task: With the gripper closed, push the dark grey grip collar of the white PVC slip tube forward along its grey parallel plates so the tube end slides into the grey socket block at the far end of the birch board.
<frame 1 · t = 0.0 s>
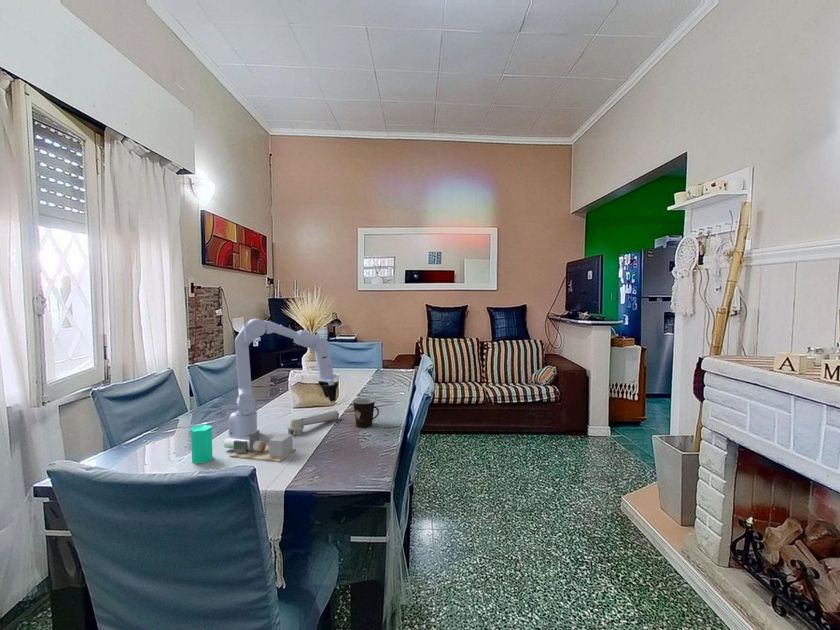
hand: (330, 398, 166), 11 cm above the table, tool pointing down, fingers open, 7 cm apart
grey capped rod: (314, 428, 163), on the table
socket: (281, 455, 134), resting on board
grey parallel plates: (245, 451, 137), resting on board
candle: (202, 460, 131), on the table
coffee mug: (365, 427, 163), on the table
slip tube: (244, 440, 137), point 4 cm above the table, slide at 0.0 cm
board: (263, 453, 136), on the table
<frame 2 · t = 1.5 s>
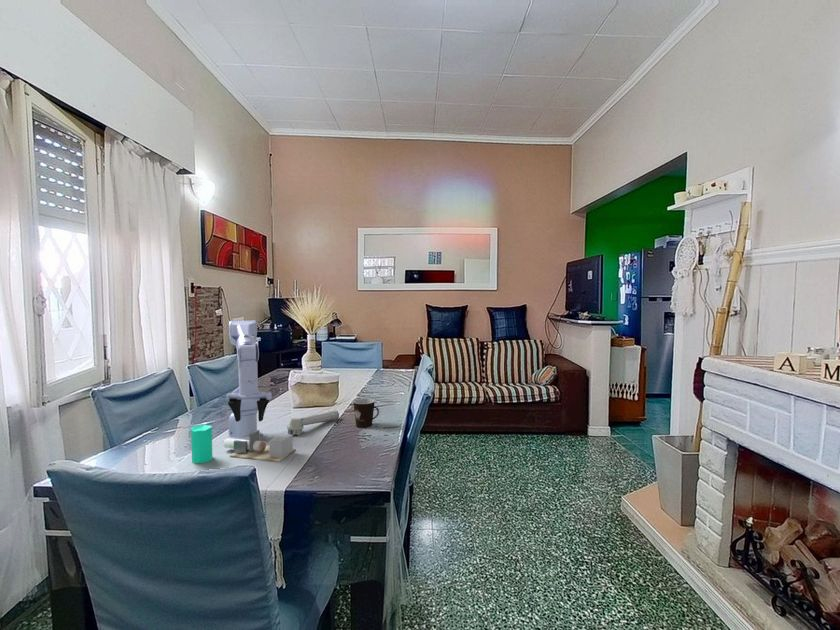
hand: (249, 420, 136), 11 cm above the table, tool pointing down, fingers open, 7 cm apart
nothing on the table moved.
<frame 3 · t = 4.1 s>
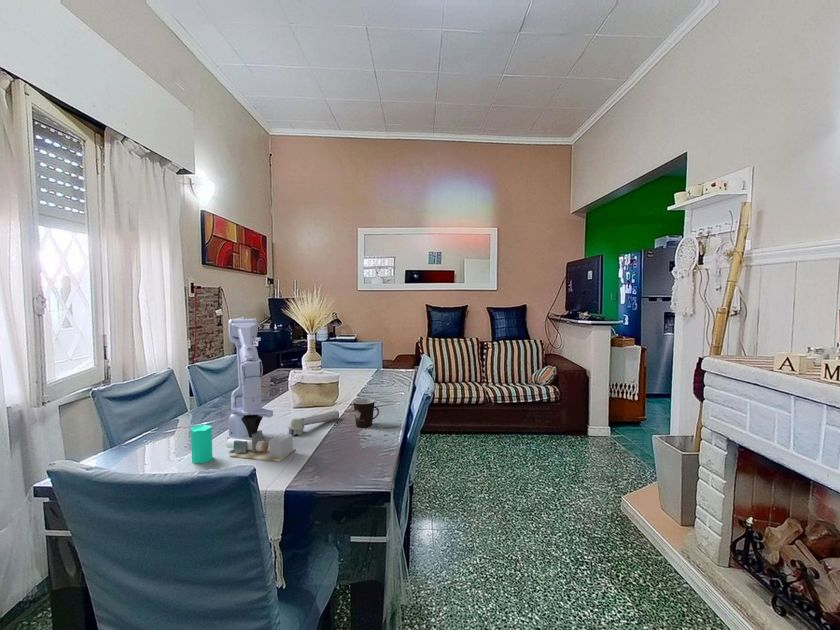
hand: (252, 436, 136), 5 cm above the table, tool pointing down, fingers closed
slip tube: (247, 440, 137), point 4 cm above the table, slide at 1.0 cm, touching gripper
everything else where it was.
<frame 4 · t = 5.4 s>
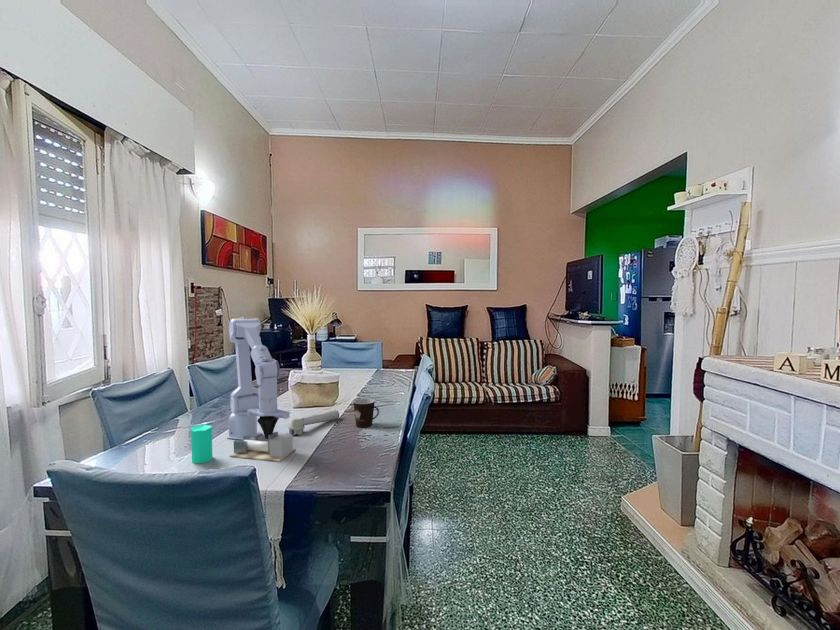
hand: (268, 438, 135), 5 cm above the table, tool pointing down, fingers closed
slip tube: (263, 442, 135), point 4 cm above the table, slide at 7.0 cm, touching gripper
everything else where it was.
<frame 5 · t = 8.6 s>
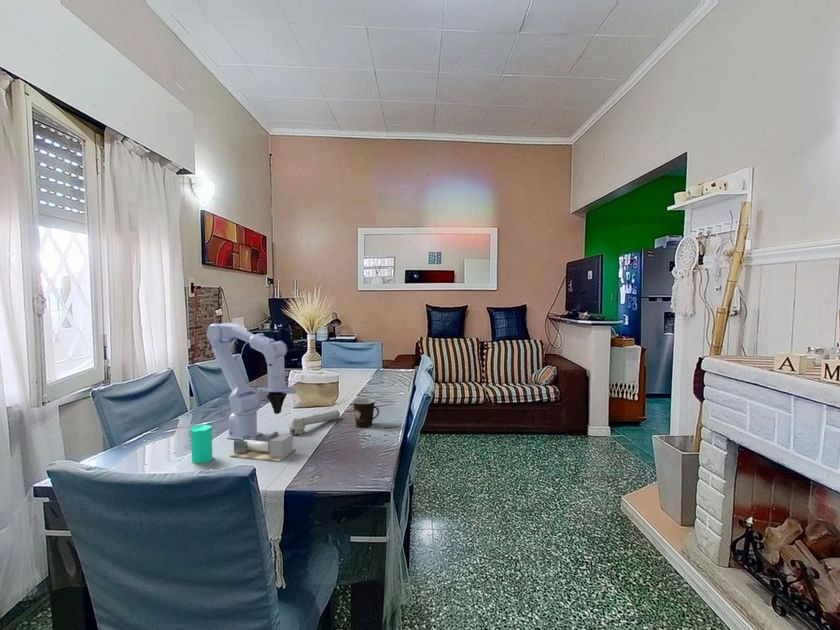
hand: (277, 413, 146), 10 cm above the table, tool pointing down, fingers closed
slip tube: (263, 442, 135), point 4 cm above the table, slide at 7.0 cm
everything else where it was.
at the end: slip tube slide at 7.0 cm; slip tube 0.3 cm from the target spot, resting on board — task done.
